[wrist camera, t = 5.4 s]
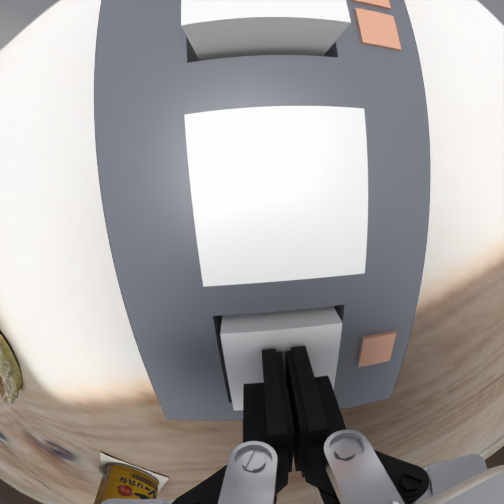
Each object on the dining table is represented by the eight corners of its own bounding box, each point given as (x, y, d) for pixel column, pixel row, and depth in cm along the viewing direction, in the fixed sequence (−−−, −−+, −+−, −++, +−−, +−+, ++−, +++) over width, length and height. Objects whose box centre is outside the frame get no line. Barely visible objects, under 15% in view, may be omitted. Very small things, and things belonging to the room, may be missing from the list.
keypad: (365, -17, 8) (388, -45, 5) (372, 364, 15) (391, 400, 12) (130, -6, 8) (106, -35, 5) (176, 381, 15) (166, 421, 12)
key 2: (326, 123, 9) (364, 108, 6) (330, 238, 11) (364, 273, 7) (205, 129, 9) (184, 114, 6) (216, 246, 11) (203, 286, 7)
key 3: (320, 282, 13) (342, 322, 10) (316, 354, 14) (331, 401, 11) (226, 290, 13) (220, 333, 10) (235, 362, 14) (233, 410, 11)
